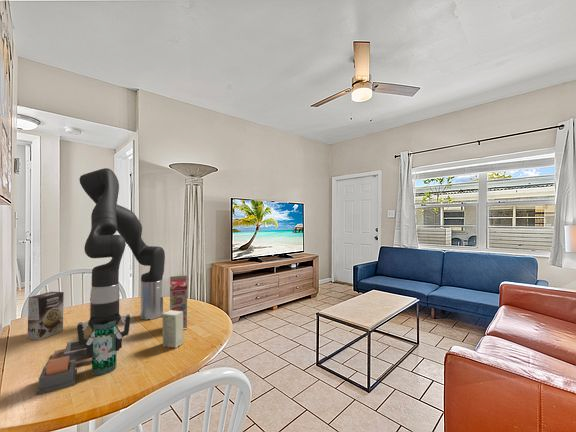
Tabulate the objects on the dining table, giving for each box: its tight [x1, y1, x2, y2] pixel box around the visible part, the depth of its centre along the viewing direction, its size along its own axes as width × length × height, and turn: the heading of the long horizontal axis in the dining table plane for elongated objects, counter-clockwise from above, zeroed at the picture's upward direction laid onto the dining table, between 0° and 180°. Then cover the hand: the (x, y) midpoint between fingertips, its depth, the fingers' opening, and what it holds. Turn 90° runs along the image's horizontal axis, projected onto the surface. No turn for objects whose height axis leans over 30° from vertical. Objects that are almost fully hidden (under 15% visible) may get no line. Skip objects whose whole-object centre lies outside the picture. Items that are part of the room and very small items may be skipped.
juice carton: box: [169, 275, 188, 328], centre depth 118 cm, size 7×7×22 cm
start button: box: [46, 356, 70, 375], centre depth 79 cm, size 5×5×3 cm
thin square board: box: [50, 337, 92, 369], centre depth 93 cm, size 17×14×4 cm
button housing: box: [36, 359, 78, 395], centre depth 78 cm, size 8×8×4 cm
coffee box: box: [26, 291, 65, 341], centre depth 110 cm, size 9×6×16 cm
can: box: [91, 321, 118, 376], centre depth 85 cm, size 6×6×15 cm
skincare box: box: [161, 309, 185, 348], centre depth 102 cm, size 6×4×12 cm
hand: (104, 352), depth 85 cm, fingers closed on can, 6 cm apart
